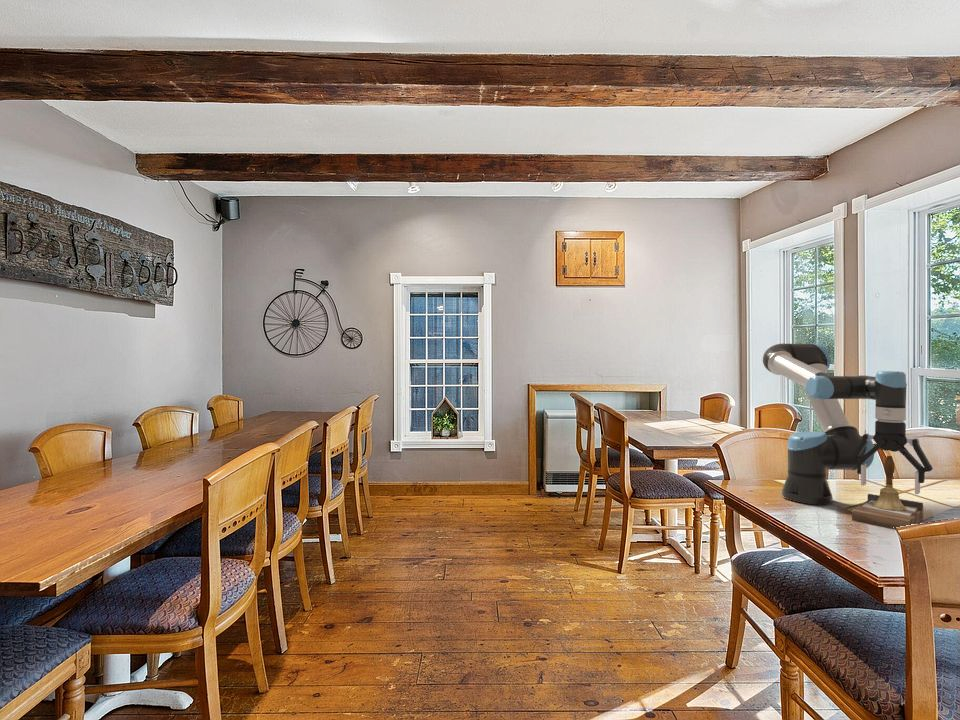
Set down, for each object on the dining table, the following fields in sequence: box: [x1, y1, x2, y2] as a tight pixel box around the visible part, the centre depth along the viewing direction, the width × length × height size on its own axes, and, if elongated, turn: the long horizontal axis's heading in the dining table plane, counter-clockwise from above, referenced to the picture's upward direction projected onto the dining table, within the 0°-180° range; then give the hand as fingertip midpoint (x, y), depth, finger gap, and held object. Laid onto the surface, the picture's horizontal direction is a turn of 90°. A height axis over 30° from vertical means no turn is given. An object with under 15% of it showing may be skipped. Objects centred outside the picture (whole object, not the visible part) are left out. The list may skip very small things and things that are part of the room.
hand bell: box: [873, 455, 906, 511], centre depth 166 cm, size 8×8×16 cm
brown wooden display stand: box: [851, 493, 924, 529], centre depth 165 cm, size 18×14×5 cm
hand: (889, 489), depth 166 cm, fingers open, 13 cm apart
